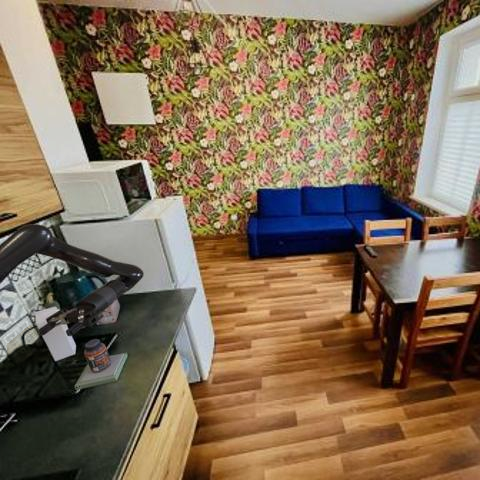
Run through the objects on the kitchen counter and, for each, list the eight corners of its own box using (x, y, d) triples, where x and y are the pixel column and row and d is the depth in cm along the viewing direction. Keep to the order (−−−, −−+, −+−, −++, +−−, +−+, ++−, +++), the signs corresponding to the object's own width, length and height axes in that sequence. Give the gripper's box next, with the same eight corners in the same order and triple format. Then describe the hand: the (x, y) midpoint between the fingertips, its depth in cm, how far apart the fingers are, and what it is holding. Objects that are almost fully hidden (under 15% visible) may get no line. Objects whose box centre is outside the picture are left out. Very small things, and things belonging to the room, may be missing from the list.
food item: (118, 323, 124) (111, 306, 120) (96, 329, 120) (89, 311, 116) (122, 307, 135) (116, 291, 131) (102, 312, 131) (96, 295, 127)
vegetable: (57, 336, 116) (39, 298, 108) (56, 332, 118) (38, 294, 111) (71, 331, 119) (53, 293, 111) (69, 327, 121) (52, 289, 114)
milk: (76, 355, 106) (55, 310, 98) (55, 363, 103) (32, 316, 94) (76, 346, 111) (56, 302, 102) (56, 353, 107) (34, 308, 99)
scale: (75, 391, 92) (72, 385, 90) (91, 364, 102) (88, 358, 101) (117, 382, 95) (114, 376, 94) (128, 357, 106) (126, 351, 104)
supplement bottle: (100, 375, 94) (89, 351, 90) (87, 371, 95) (76, 347, 91) (115, 362, 100) (106, 338, 95) (103, 358, 101) (93, 335, 96)
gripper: (74, 291, 93) (26, 322, 78) (114, 292, 93) (72, 324, 78) (82, 309, 96) (36, 342, 81) (120, 310, 96) (81, 343, 81)
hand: (54, 333), depth 80 cm, fingers open, 8 cm apart
